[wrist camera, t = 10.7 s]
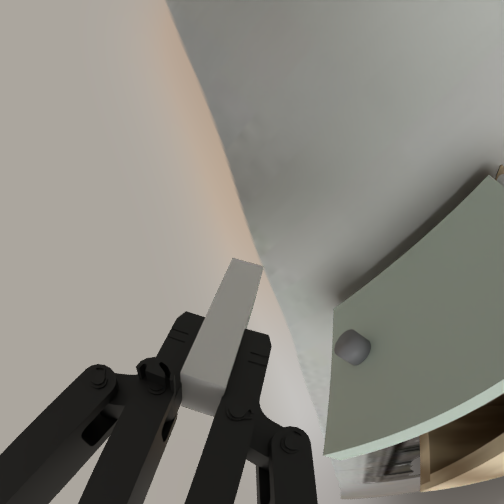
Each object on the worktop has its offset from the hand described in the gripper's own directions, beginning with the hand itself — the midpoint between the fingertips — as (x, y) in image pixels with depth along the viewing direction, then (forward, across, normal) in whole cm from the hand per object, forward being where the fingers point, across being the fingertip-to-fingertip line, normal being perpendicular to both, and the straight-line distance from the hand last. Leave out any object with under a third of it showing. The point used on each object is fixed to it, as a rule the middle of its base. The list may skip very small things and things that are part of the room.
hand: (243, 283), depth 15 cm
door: (+8, +11, +1) cm, 14 cm away
